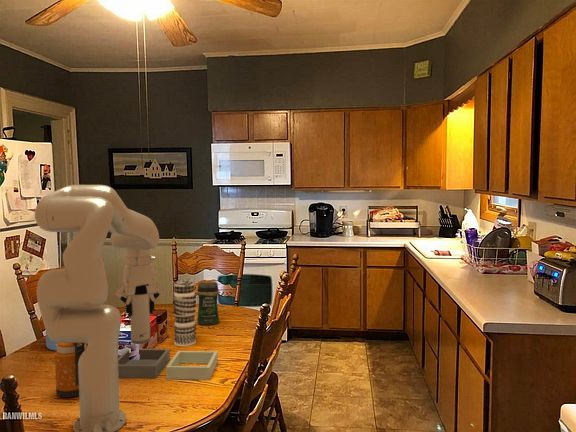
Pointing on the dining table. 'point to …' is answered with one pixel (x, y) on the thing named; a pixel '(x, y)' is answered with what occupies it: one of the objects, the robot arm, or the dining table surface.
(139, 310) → the travel mug
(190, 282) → the decorative candle
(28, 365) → the dining table surface
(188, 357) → the sage crate
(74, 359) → the canister
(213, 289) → the coffee jar
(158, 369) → the charcoal tray
